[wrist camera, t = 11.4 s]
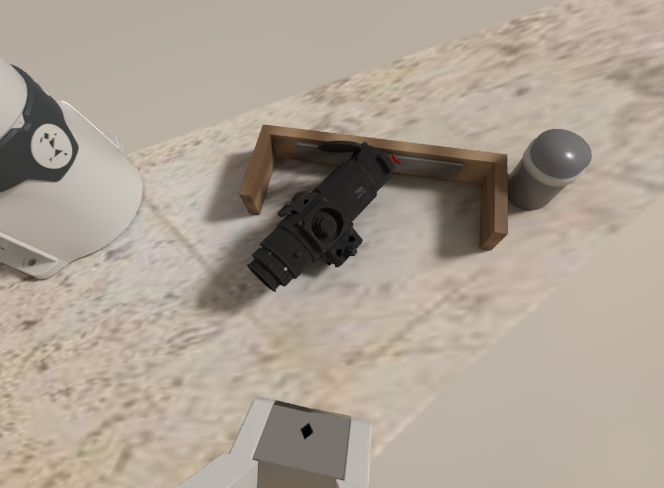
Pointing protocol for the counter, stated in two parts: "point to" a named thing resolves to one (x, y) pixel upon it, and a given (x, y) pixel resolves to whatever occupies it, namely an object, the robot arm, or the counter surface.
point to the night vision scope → (323, 216)
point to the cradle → (414, 162)
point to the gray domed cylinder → (547, 168)
